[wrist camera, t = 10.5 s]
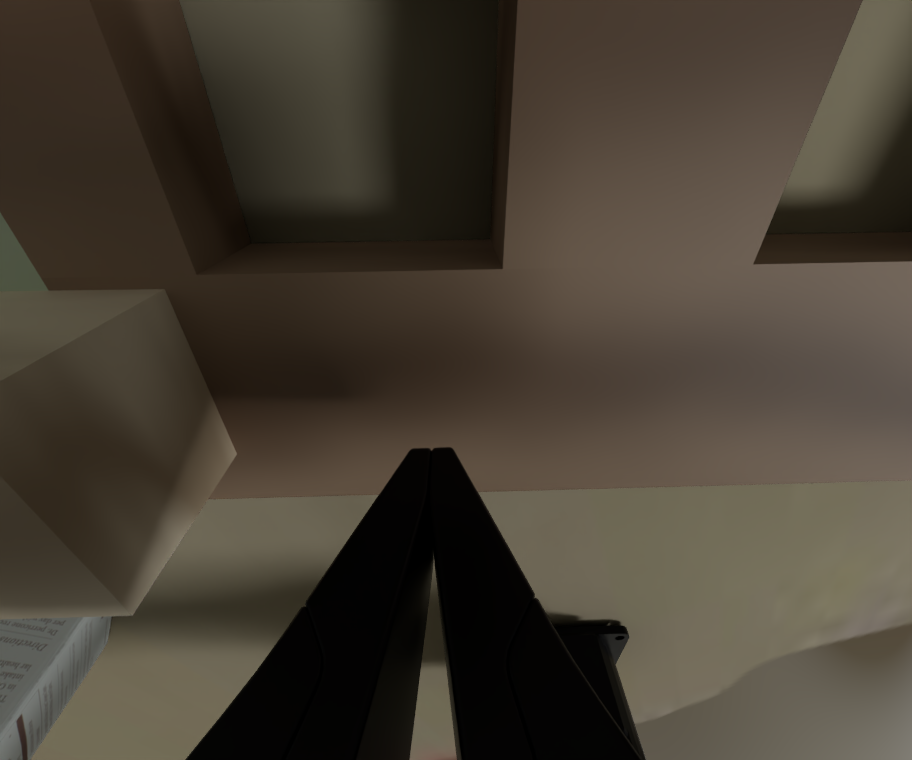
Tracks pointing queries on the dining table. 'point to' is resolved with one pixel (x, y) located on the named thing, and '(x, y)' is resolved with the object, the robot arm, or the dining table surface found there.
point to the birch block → (98, 449)
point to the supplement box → (42, 675)
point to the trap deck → (492, 258)
